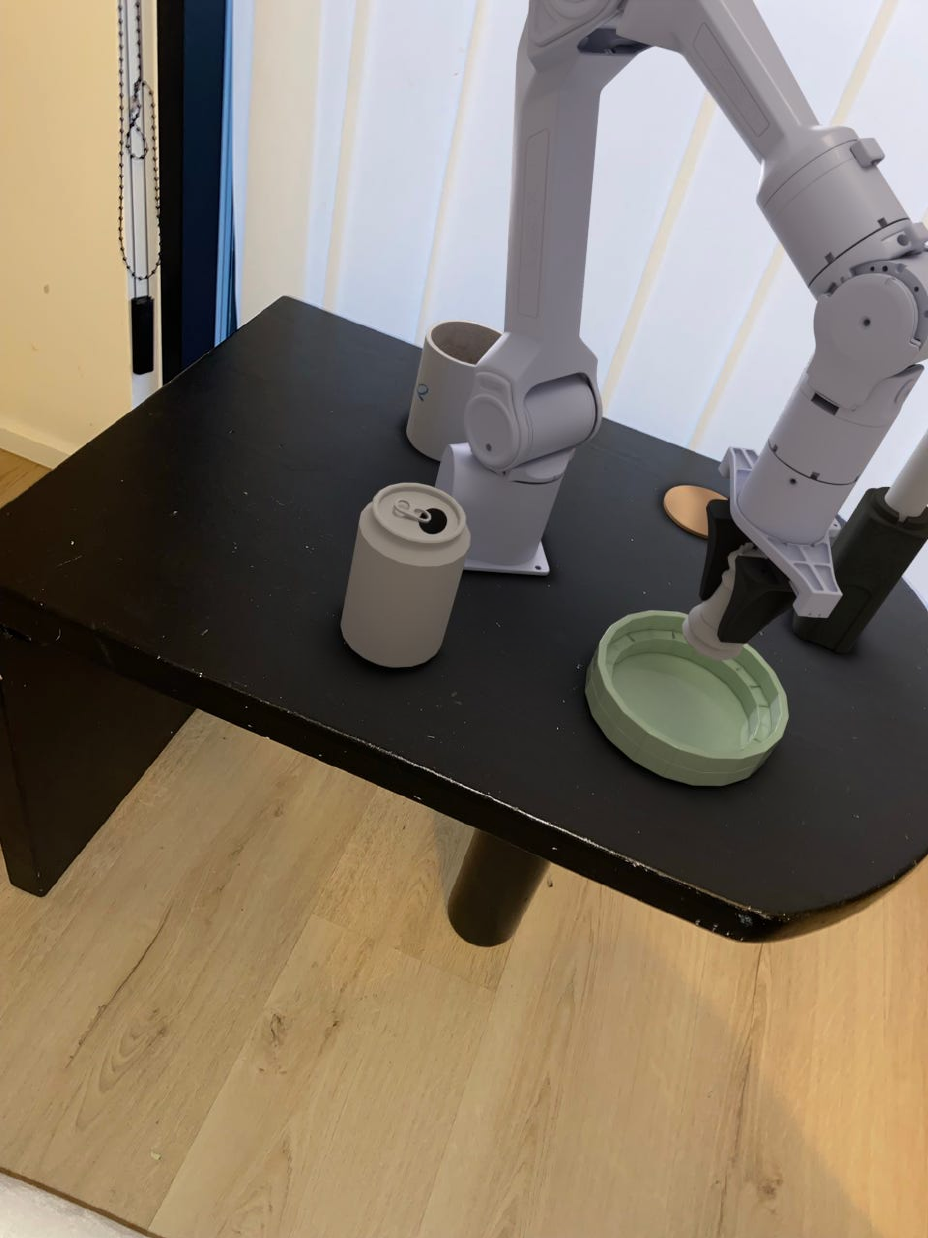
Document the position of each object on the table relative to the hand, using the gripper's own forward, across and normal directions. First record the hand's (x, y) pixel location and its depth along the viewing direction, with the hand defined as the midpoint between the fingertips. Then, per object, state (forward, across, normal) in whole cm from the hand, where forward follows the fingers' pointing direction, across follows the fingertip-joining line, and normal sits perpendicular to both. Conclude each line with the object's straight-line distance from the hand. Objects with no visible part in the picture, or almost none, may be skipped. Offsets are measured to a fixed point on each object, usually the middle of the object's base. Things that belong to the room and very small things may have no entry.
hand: (722, 619), depth 65 cm
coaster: (+9, +24, -11) cm, 28 cm away
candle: (+9, +9, -17) cm, 21 cm away
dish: (+9, -1, 0) cm, 9 cm away
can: (+9, +5, +21) cm, 24 cm away
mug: (+9, +34, +12) cm, 37 cm away
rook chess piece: (+2, 0, 0) cm, 2 cm away
